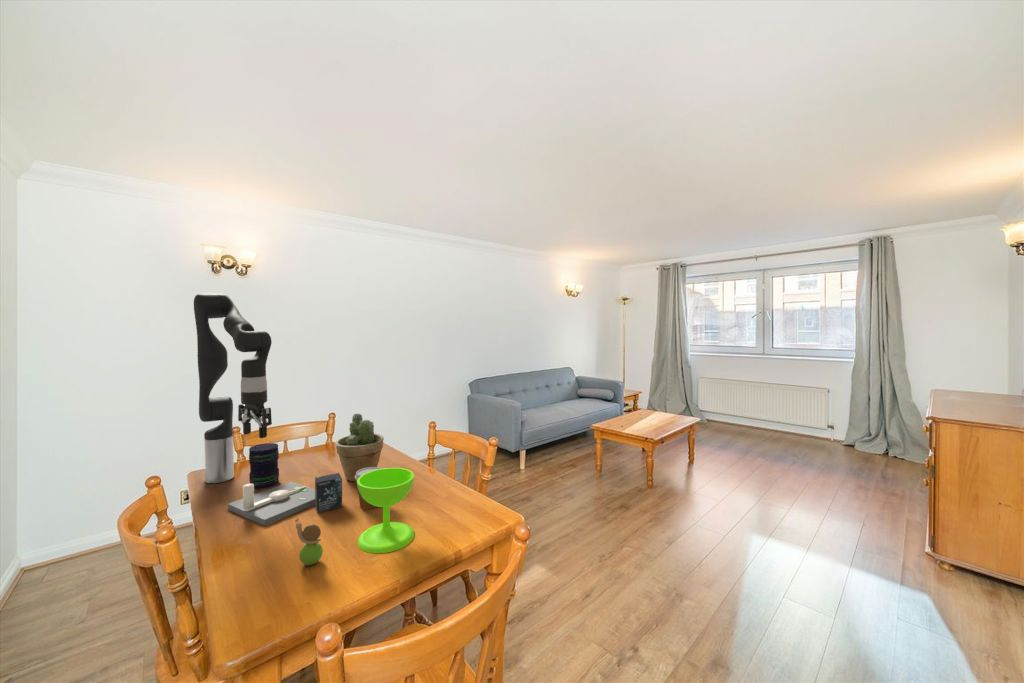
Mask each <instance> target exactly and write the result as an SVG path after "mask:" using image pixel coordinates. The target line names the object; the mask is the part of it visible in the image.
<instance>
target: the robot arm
mask: <svg viewBox="0 0 1024 683" xmlns="http://www.w3.org/2000/svg"><path fill="white" fill-rule="evenodd" d="M193 313H194V319H195V327H196V328H195V329H196V336H197V337H196V338H197V339H196V340H197V344H196V345H197V370H198V380H199V382H198V383H199V390H198V391H199V392H198V396H199V397H198V414H199V415H198V416H199V420H200V421H201V422H203V423H208V422H217V421H218V422H219V421H222V422H220V424H218V425H217V426H215V427H212V428H210V429H208V430H206V431H205V432H204V434H203V437H204V440H203V441H204V470H205V471H204V472H205V473H204V476H205V483H207V484H218V483H223V482H227V481H230V480H231V479H233V478H234V477H235V474H234V472H235V470H234V468H235V467H234V464H235V462H234V432H233V429H234V428H233V420H234V419H233V416H234V415H233V413H234V403H233V402H234V401H233V399H232V397H230V396H222V397H210V395H211V392H212V390H213V388H214V387H215V385H216V384H217V382H219V380H220V379H221V378H222V376H223V375H224V374H225V372H226V371H227V369H228V366H229V365H228V364H229V363H228V360H229V359H228V350H227V348H226V346H225V345H224V344H223V343H222V341H220V339H219V338H218V337H217V336H216V335H215V334H214V332H213V331H212V329H211V327H210V323H209V321H210V320H209V319H223V318H224V320H223V324H222V325H223V328H224V330H225V331H226V332H227V333H228V334H229V336H230V337H231V338H232V341H233V346H234V347H235V349H236V350H237V351H238V352H241V353H253V352H255V354H254V356H252V357H250V358H246V359H244V360H242V361H241V365H240V368H241V371H240V372H241V374H240V376H241V380H240V402H241V404H240V403H239V404H238V406H237V407H238V412H237V413H238V414H237V418H238V419H237V420H238V422H241V424H242V434H243V435H249V434H251V432H252V420H254V422H255V423H257V425H258V438H259V439H264V438H267V436H268V427H269V426H272V424H273V421H272V408H271V407H265V403H267V402H268V380H267V369H266V368H267V366H266V365H267V361H268V356H269V353H270V350H271V346H272V337H271V335H270V334H269V332H268V331H264V330H255V328H254V326H253V325H252V324H251V323H250V322H249V321H248V320H247V319H245V318H244V317H243V316H242V314H241V313H240V311H239V309H238V308H237V306H236V304H235V303H234V301H233V300H232V299H231V297H229V296H228V295H227V294H224V293H199V294H196V295H195V296H194V299H193Z"/></svg>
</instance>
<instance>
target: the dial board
mask: <svg viewBox="0 0 1024 683" xmlns="http://www.w3.org/2000/svg"><path fill="white" fill-rule="evenodd" d="M303 486H305V485H303V484H300V483H297V482H294V481H289V482H287V483H283V484H281V485H276V486H273V487H270V488H267V489H265V490H263V491H261V492H258V493H254V503H256V502H258V501H261V500H264V499H266V498H269V494H271V493H272V492H275V491H278V490H288V491H289V492H290V491H293V490H295V489H298V488H301V487H303ZM313 506H315V488H313V487H309V486H307V487H306V488H303V489H301V490H298V491H296V492H293V493H290V494H289V497H288V498H287V499H285V500H282V501H275V502H270V503H268V504H265V505H262V506H260V507H257V508H255V509H252V510H250V511H245V510H244V508H243V498H240V499H238V500H235V501H232V502H229V503H227V510H228V511H229V512H232V513H234V514H237V515H239V516H241V517H244V518H246V519H248V520H250V521H251V522H255V523H257V524H259V525H261V526H263V527H265V526H268V525H271V524H273V523H275V522H277V521H279V520H282V519H285V518H287V517H289V516H292V515H294V514H296V513H298V512H301V511H304V510H306V509H308V508H311V507H313Z"/></svg>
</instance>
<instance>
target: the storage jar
mask: <svg viewBox="0 0 1024 683" xmlns="http://www.w3.org/2000/svg"><path fill="white" fill-rule="evenodd" d="M248 451H249V453H248V464H249V471H250V472H249V474H248V475H249V478H248V481H249V484H250V483H252V484H254V491H255V490H256V491H257V490H267V489H271V488H274V487H276V486H278V485H279V483H280V480H279V479H280V468H279V458H280V456H279V454H280V452H279V444H278V443H274V442H269V443H260V444H256V445H253V446H250V447H249V449H248Z"/></svg>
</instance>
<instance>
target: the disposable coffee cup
mask: <svg viewBox="0 0 1024 683" xmlns="http://www.w3.org/2000/svg"><path fill="white" fill-rule="evenodd" d="M377 469H383V468H381V467H379V466H377V467H367V468H363V469H360V470H358V471H357V472H356V475H355V479H356V481H357V480H358V478H359V477H360V476H361V475H363V474H365V473H367V472H370V471H373V470H377ZM356 487H357V493H358V501H359V508H360V509H362V510H373V509H375V508H377V506H374V505H372V504H369V503H368V502H366V501H365V500H364V499H363V498H362V496H361V494H360V492H359V490H358V486H357V485H356Z"/></svg>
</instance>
